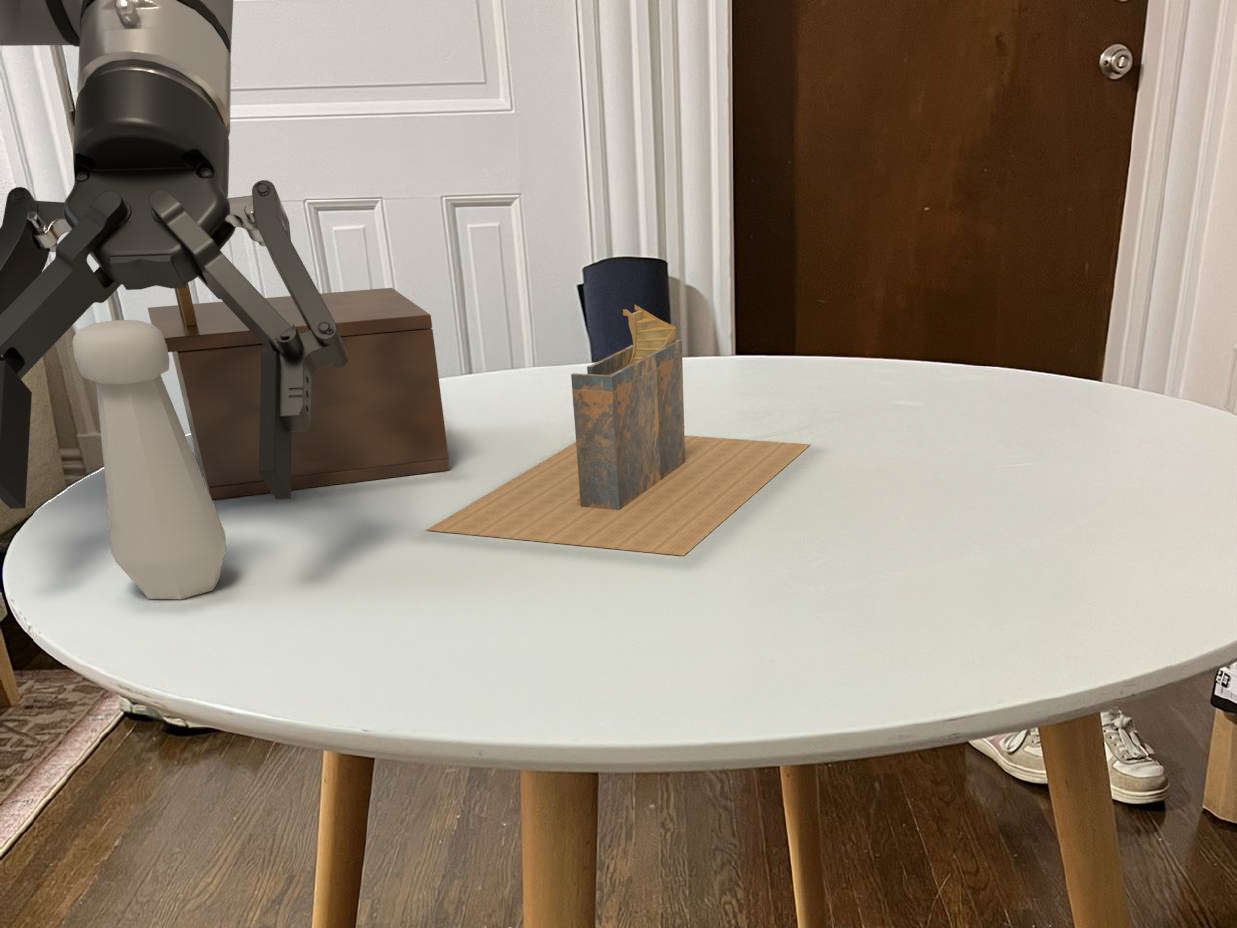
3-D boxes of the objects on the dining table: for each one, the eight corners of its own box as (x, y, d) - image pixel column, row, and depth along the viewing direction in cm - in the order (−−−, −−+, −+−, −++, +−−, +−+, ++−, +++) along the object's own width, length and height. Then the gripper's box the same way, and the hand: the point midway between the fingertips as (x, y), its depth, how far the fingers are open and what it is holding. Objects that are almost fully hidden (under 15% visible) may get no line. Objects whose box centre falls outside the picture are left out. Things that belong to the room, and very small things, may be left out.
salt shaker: (208, 607, 68) (142, 335, 60) (103, 605, 68) (25, 335, 61) (252, 569, 72) (196, 312, 65) (154, 567, 73) (87, 313, 66)
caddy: (211, 500, 84) (177, 352, 79) (195, 454, 93) (164, 320, 89) (450, 470, 88) (432, 328, 83) (412, 429, 98) (394, 300, 93)
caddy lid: (161, 353, 79) (120, 178, 73) (150, 320, 88) (113, 164, 83) (432, 328, 83) (411, 163, 78) (394, 299, 93) (373, 151, 88)
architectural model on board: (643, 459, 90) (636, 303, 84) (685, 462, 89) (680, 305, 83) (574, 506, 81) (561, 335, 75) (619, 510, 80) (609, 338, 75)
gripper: (-126, 67, 65) (-160, 458, 61) (372, 53, 66) (371, 440, 62) (-44, 180, 73) (-69, 535, 69) (404, 167, 73) (405, 518, 69)
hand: (139, 491), depth 65 cm, fingers open, 13 cm apart
